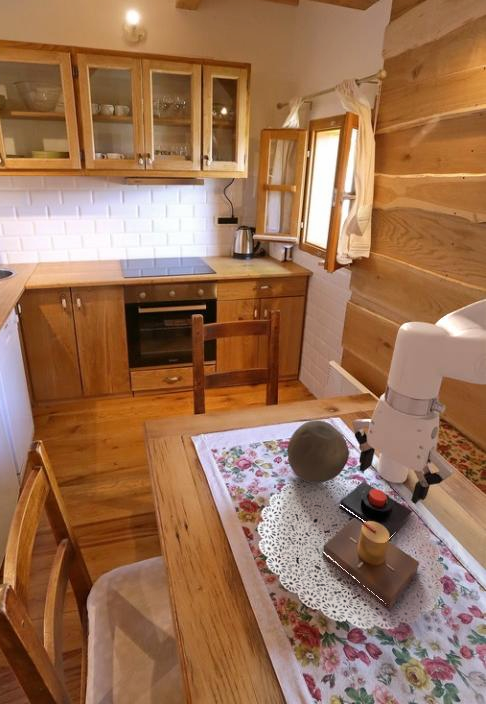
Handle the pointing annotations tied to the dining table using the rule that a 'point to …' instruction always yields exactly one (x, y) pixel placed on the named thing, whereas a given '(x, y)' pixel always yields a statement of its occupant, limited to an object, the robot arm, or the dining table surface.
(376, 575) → the knob panel
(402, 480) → the cylindrical container
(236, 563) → the dining table surface
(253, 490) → the dining table surface
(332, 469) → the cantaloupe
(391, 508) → the button box
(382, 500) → the red button
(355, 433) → the robot arm
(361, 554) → the dial knob
